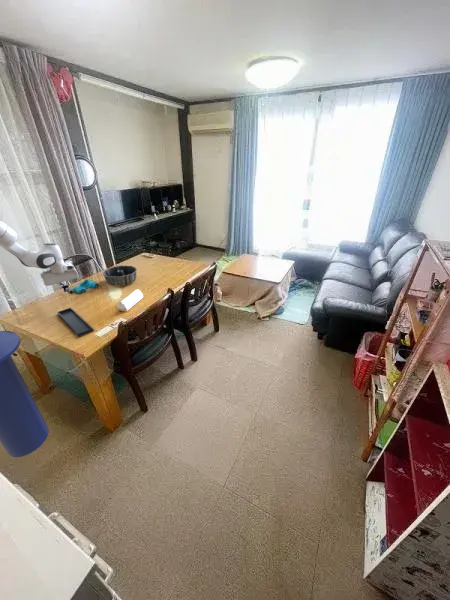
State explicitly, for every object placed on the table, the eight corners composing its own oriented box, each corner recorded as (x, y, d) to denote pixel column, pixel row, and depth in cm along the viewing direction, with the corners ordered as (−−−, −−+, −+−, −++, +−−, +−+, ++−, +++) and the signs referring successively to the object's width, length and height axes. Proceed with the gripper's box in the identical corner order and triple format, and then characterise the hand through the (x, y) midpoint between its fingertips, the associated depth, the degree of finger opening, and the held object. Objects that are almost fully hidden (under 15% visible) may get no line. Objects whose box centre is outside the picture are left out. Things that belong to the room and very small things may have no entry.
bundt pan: (122, 273, 228) (120, 263, 223) (145, 278, 218) (143, 267, 213) (98, 284, 207) (95, 273, 202) (122, 291, 197) (119, 279, 192)
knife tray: (78, 337, 145) (77, 334, 144) (58, 314, 166) (57, 312, 165) (93, 331, 151) (92, 328, 150) (71, 310, 172) (70, 307, 171)
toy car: (100, 285, 206) (98, 278, 202) (79, 294, 192) (77, 286, 188) (91, 283, 210) (89, 275, 207) (70, 291, 196) (68, 283, 193)
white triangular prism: (127, 308, 166) (146, 292, 186) (117, 302, 166) (138, 287, 186) (124, 316, 170) (143, 299, 190) (114, 310, 169) (135, 294, 190)
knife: (74, 296, 162) (72, 290, 160) (69, 298, 160) (67, 291, 158) (62, 283, 182) (60, 277, 180) (57, 284, 180) (56, 278, 178)
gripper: (40, 273, 155) (48, 294, 162) (76, 265, 168) (82, 284, 175) (38, 271, 159) (45, 291, 165) (73, 263, 172) (78, 281, 179)
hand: (64, 287), depth 170 cm, fingers closed on knife
